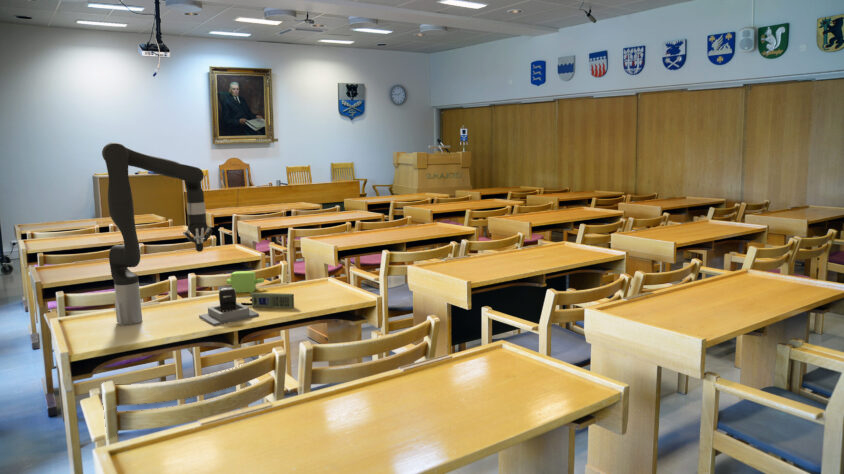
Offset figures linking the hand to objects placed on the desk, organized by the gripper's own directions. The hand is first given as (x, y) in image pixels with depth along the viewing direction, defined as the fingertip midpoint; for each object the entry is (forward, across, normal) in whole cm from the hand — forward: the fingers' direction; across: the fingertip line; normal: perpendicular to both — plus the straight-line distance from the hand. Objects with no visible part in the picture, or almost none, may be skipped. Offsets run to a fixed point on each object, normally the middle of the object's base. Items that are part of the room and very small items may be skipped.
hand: (199, 251), depth 276 cm
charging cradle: (+27, +4, -17) cm, 32 cm away
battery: (+26, +4, -17) cm, 31 cm away
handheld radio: (+28, +23, -15) cm, 39 cm away
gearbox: (+27, +30, +20) cm, 45 cm away
